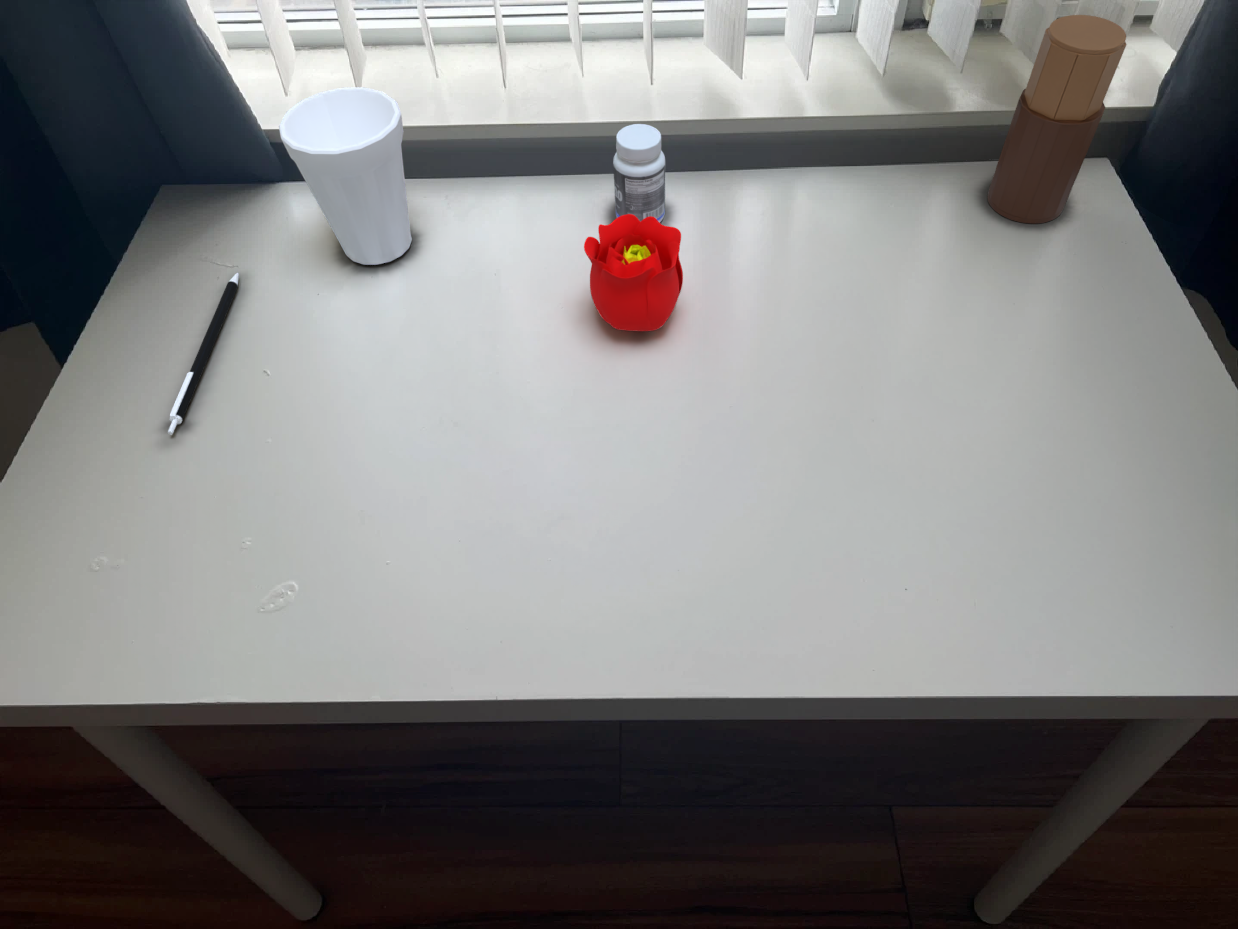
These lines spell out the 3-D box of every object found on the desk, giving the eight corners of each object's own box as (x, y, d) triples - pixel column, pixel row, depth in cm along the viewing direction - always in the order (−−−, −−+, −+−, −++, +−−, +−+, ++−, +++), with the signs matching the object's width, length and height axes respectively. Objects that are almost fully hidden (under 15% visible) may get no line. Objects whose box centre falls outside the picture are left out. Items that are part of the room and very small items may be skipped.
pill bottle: (616, 200, 87) (612, 120, 80) (665, 200, 87) (665, 120, 80) (614, 231, 84) (610, 151, 77) (665, 230, 84) (665, 150, 77)
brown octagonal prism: (1089, 84, 78) (1116, 14, 73) (1104, 121, 74) (1134, 50, 70) (1020, 83, 78) (1043, 14, 74) (1032, 119, 75) (1057, 49, 70)
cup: (346, 296, 80) (299, 166, 69) (311, 236, 85) (262, 108, 75) (449, 256, 82) (419, 126, 72) (409, 201, 88) (375, 73, 78)
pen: (167, 436, 70) (160, 427, 69) (234, 276, 82) (230, 266, 81) (178, 436, 70) (172, 427, 69) (244, 276, 82) (240, 266, 81)
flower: (576, 306, 78) (568, 230, 71) (652, 274, 80) (651, 198, 73) (621, 361, 73) (617, 285, 67) (700, 326, 75) (704, 250, 69)
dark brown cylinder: (1055, 181, 86) (1112, 36, 75) (1070, 224, 82) (1133, 78, 71) (982, 179, 87) (1028, 35, 76) (993, 222, 82) (1044, 76, 72)
